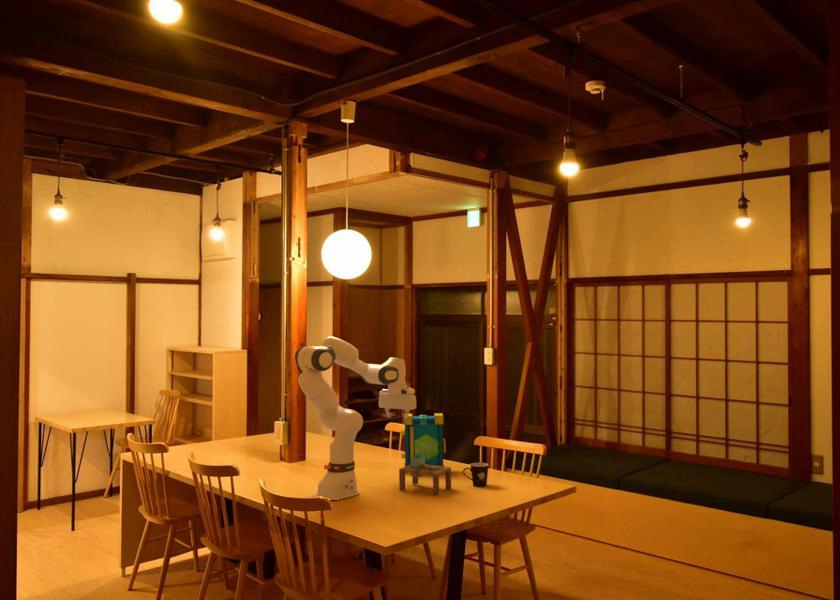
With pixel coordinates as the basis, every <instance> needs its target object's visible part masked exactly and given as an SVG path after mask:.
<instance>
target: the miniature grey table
mask: <svg viewBox="0 0 840 600" xmlns="http://www.w3.org/2000/svg"><path fill="white" fill-rule="evenodd" d="M432 470H433V471H432ZM398 472H399V473H398V476H399V479H398V482H399V483H398V486H399V487H398V489H399V490H404V491H406V475H405V472H407V473H412V475H411V476H412V481H411V482H412V484H415V485H414V486H417V485H416V484H418V485H419V477H415V476H414V473H415V474H422V476H423V475H425V476H432V486H433V487H432V489H433V490H432V494H433V496H436V495H438V496H440V475H441V474H443V473H444V476H445V480H444V481H445V490H449V491H450V490H452V467H450V466H445V465H444V466H435V465H426V464H425V467H422V468H420V469H414V468H411V465H408V466H406V467H405V466H404V467H400V468H398Z"/></svg>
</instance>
